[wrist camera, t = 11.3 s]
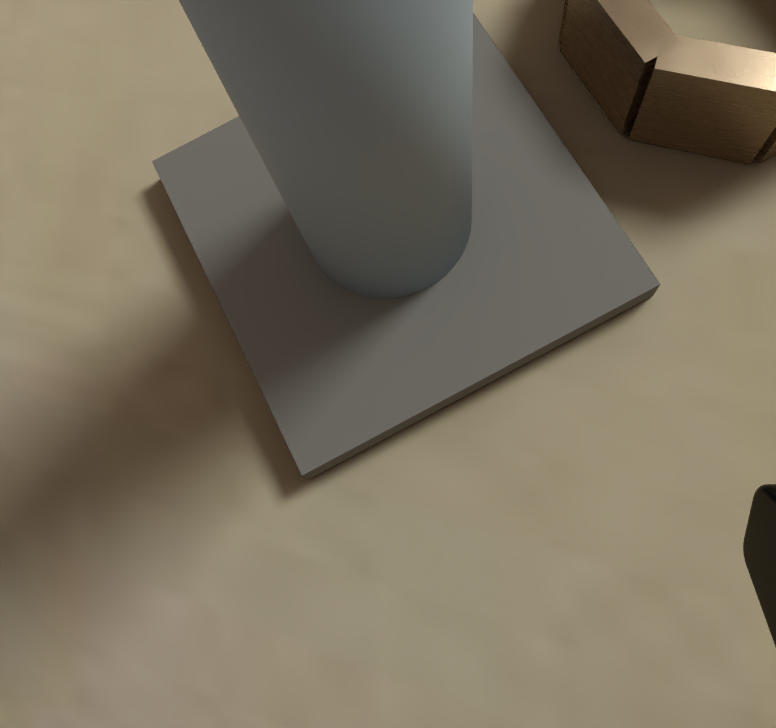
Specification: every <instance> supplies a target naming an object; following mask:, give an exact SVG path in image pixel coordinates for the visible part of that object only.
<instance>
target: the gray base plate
mask: <svg viewBox="0 0 776 728" xmlns="http://www.w3.org/2000/svg"><path fill="white" fill-rule="evenodd" d="M152 162H153V165H154V167H155V169H156V171H157V173H158V175H159V177H160V179H161V181H162V183H163V185H164V188H165V190H166V192H167V194H168V196H169V198H170V200H171V202H172V204H173V206H174V209H175V211H176V213H177V215H178V217H179V219H180V221H181V223H182V225H183V227H184V229H185V232H186V234H187V236H188V238H189V240H190V242H191V244H192V246H193V248H194V250H195V253H196V255H197V257H198V259H199V261H200V263H201V265H202V267H203V269H204V271H205V274H206V276H207V278H208V280H209V282H210V284H211V286H212V288H213V290H214V292H215V294H216V297H217V299H218V301H219V303H220V305H221V307H222V309H223V311H224V313H225V315H226V318H227V320H228V322H229V324H230V326H231V328H232V330H233V332H234V334H235V336H236V338H237V341H238V343H239V345H240V347H241V349H242V351H243V353H244V355H245V357H246V359H247V362H248V364H249V366H250V368H251V370H252V372H253V374H254V376H255V378H256V380H257V383H258V385H259V387H260V389H261V391H262V393H263V395H264V397H265V399H266V401H267V403H268V406H269V408H270V410H271V412H272V414H273V416H274V418H275V420H276V422H277V424H278V427H279V429H280V431H281V433H282V435H283V437H284V439H285V441H286V443H287V445H288V447H289V450H290V452H291V454H292V456H293V458H294V460H295V462H296V464H297V466H298V468H299V471H300V473H301V475H302V476H304V477H306V478H308V479H310V478H312V477H314V476H316V475H318V474H320V473H322V472H324V471H325V470H327V469H329V468H331V467H333V466H335V465H337V464H339V463H340V462H342V461H344V460H346V459H348V458H350V457H352V456H353V455H355V454H357V453H359V452H361V451H363V450H365V449H367V448H368V447H370V446H372V445H374V444H376V443H378V442H380V441H382V440H383V439H385V438H387V437H389V436H391V435H393V434H395V433H397V432H398V431H400V430H402V429H404V428H406V427H408V426H410V425H412V424H413V423H415V422H417V421H419V420H421V419H423V418H425V417H426V416H428V415H430V414H432V413H434V412H436V411H438V410H440V409H441V408H443V407H445V406H447V405H449V404H451V403H453V402H455V401H456V400H458V399H460V398H462V397H464V396H466V395H468V394H470V393H471V392H473V391H475V390H477V389H479V388H481V387H483V386H485V385H486V384H488V383H490V382H492V381H494V380H496V379H498V378H499V377H501V376H503V375H505V374H507V373H509V372H511V371H513V370H514V369H516V368H518V367H520V366H522V365H524V364H526V363H528V362H529V361H531V360H533V359H535V358H537V357H539V356H541V355H543V354H544V353H546V352H548V351H550V350H552V349H554V348H556V347H557V346H559V345H561V344H563V343H565V342H567V341H569V340H571V339H572V338H574V337H576V336H578V335H580V334H582V333H584V332H586V331H587V330H589V329H591V328H593V327H595V326H597V325H599V324H601V323H602V322H604V321H606V320H608V319H610V318H612V317H614V316H616V315H617V314H619V313H621V312H623V311H625V310H627V309H629V308H630V307H632V306H634V305H636V304H638V303H640V302H642V301H644V300H645V299H647V298H649V297H651V296H653V295H654V293H655V292H656V290H657V289H658V287H659V286H660V283H659V281H658V280H657V278H656V277H655V275H654V274H653V273H652V271H651V270H650V268H649V267H648V265H647V264H646V262H645V261H644V260H643V258H642V257H641V255H640V254H639V252H638V251H637V249H636V248H635V246H634V245H633V244H632V242H631V241H630V239H629V238H628V236H627V235H626V233H625V232H624V231H623V229H622V228H621V226H620V225H619V223H618V222H617V220H616V219H615V218H614V216H613V215H612V213H611V212H610V210H609V209H608V207H607V206H606V204H605V203H604V202H603V200H602V199H601V197H600V196H599V194H598V193H597V191H596V190H595V189H594V187H593V186H592V184H591V183H590V181H589V180H588V178H587V177H586V175H585V174H584V173H583V171H582V170H581V168H580V167H579V165H578V164H577V162H576V161H575V160H574V158H573V157H572V155H571V154H570V152H569V151H568V149H567V148H566V146H565V145H564V144H563V142H562V141H561V139H560V138H559V136H558V135H557V133H556V132H555V131H554V129H553V128H552V126H551V125H550V123H549V122H548V120H547V119H546V117H545V116H544V115H543V113H542V112H541V110H540V109H539V107H538V106H537V104H536V103H535V102H534V100H533V99H532V97H531V96H530V94H529V93H528V91H527V90H526V89H525V87H524V86H523V84H522V83H521V81H520V80H519V78H518V77H517V75H516V74H515V73H514V71H513V70H512V68H511V67H510V65H509V64H508V62H507V61H506V60H505V58H504V57H503V55H502V54H501V52H500V51H499V49H498V48H497V46H496V45H495V44H494V42H493V41H492V39H491V38H490V36H489V35H488V33H487V32H486V31H485V29H484V28H483V26H482V25H481V23H480V22H479V20H478V19H477V17H476V16H475V15H474V13H473V82H472V223H471V232H470V236H469V240H468V243H467V245H466V248H465V250H464V252H463V254H462V256H461V257H460V259H459V261H458V262H457V263H456V265H455V266H454V267H453V268H452V269H451V270H450V272H449V273H448V274H447V275H446V276H444V277H443V278H442V279H441V280H439V281H438V282H437V283H435V284H434V285H432V286H430V287H429V288H427V289H425V290H423V291H420V292H418V293H416V294H412V295H409V296H406V297H400V298H393V299H377V298H369V297H364V296H361V295H358V294H355V293H352V292H350V291H348V290H346V289H344V288H342V287H340V286H339V285H337V284H336V283H334V282H333V281H332V280H331V279H330V278H329V277H328V276H326V274H325V273H324V272H323V271H322V270H321V269H320V267H319V266H318V264H317V263H316V261H315V259H314V258H313V256H312V254H311V252H310V250H309V248H308V246H307V244H306V242H305V240H304V238H303V236H302V235H301V233H300V231H299V229H298V227H297V225H296V223H295V221H294V219H293V217H292V215H291V214H290V212H289V210H288V208H287V206H286V204H285V202H284V200H283V198H282V196H281V194H280V193H279V191H278V189H277V187H276V185H275V183H274V181H273V179H272V177H271V175H270V173H269V171H268V170H267V168H266V166H265V164H264V162H263V160H262V158H261V156H260V154H259V152H258V150H257V149H256V147H255V145H254V143H253V141H252V139H251V137H250V135H249V133H248V131H247V129H246V128H245V126H244V124H243V122H242V120H241V118H240V116H238V117H237V118H235V119H233V120H231V121H229V122H227V123H225V124H223V125H221V126H219V127H217V128H215V129H213V130H212V131H210V132H208V133H206V134H204V135H202V136H200V137H198V138H196V139H194V140H192V141H190V142H188V143H187V144H185V145H183V146H181V147H179V148H177V149H175V150H173V151H171V152H169V153H167V154H165V155H163V156H162V157H160V158H158V159H156V160H154V161H152Z"/></svg>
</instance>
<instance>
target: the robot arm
mask: <svg viewBox="0 0 776 728" xmlns="http://www.w3.org/2000/svg"><path fill="white" fill-rule="evenodd" d="M743 551H744V558H745V562H746V566H747V568H748V571H749V574H750V577H751V580H752V582H753V585H754V588H755V591H756V593H757V596H758V599H759V602H760V605H761V607H762V610H763V613H764V616H765V619H766V621H767V624H768V627H769V630H770V633H771V635H772V638H773V641H774V644H775V647H776V484H766V485H762V486H760V487H759V488H758V489H757V490H756V492H755V494H754V497H753V501H752V506H751V510H750V515H749V519H748V524H747V528H746V533H745V537H744V543H743Z"/></svg>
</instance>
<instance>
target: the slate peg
mask: <svg viewBox="0 0 776 728" xmlns="http://www.w3.org/2000/svg"><path fill="white" fill-rule="evenodd" d="M179 1H180V3H181V5H182V7H183V9H184V11H185V13H186V15H187V17H188V19H189V20H190V22H191V24H192V26H193V28H194V30H195V32H196V34H197V36H198V38H199V40H200V41H201V43H202V45H203V47H204V49H205V51H206V53H207V55H208V57H209V59H210V61H211V63H212V64H213V66H214V68H215V70H216V72H217V74H218V76H219V78H220V80H221V82H222V84H223V85H224V87H225V89H226V91H227V93H228V95H229V97H230V99H231V101H232V103H233V105H234V106H235V108H236V110H237V112H238V114H239V116H240V118H241V120H242V122H243V124H244V126H245V128H246V129H247V131H248V133H249V135H250V137H251V139H252V141H253V143H254V145H255V147H256V149H257V150H258V152H259V154H260V156H261V158H262V160H263V162H264V164H265V166H266V168H267V170H268V171H269V173H270V175H271V177H272V179H273V181H274V183H275V185H276V187H277V189H278V191H279V193H280V194H281V196H282V198H283V200H284V202H285V204H286V206H287V208H288V210H289V212H290V214H291V215H292V217H293V219H294V221H295V223H296V225H297V227H298V229H299V231H300V233H301V235H302V236H303V238H304V240H305V242H306V244H307V246H308V248H309V250H310V252H311V254H312V256H313V258H314V259H315V261H316V263H317V264H318V266H319V267H320V269H321V270H322V271H323V272H324V273H325V274H326V276H328V277H329V278H330V279H331V280H332V281H333V282H334V283H336V284H337V285H339V286H340V287H342V288H344V289H346V290H348V291H350V292H352V293H355V294H358V295H361V296H364V297H369V298H377V299H393V298H400V297H406V296H409V295H412V294H416V293H418V292H420V291H423V290H425V289H427V288H429V287H430V286H432V285H434V284H435V283H437V282H438V281H439V280H441V279H442V278H443V277H444V276H446V275H447V274H448V273H449V272H450V270H451V269H452V268H453V267H454V266H455V265H456V263H457V262H458V261H459V259H460V257H461V256H462V254H463V252H464V250H465V248H466V245H467V243H468V240H469V236H470V232H471V223H472V82H473V0H179Z"/></svg>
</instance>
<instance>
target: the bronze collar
mask: <svg viewBox="0 0 776 728" xmlns="http://www.w3.org/2000/svg"><path fill="white" fill-rule="evenodd" d="M559 42H560V43H561V47H560V51H561V52H562V53H563V55H564V56H565V57H566V59H567V60H568V62H569V63H570V64H571V66H572V67H573V69H574V70H575V71H576V73H577V74H578V75H579V77H580V78H581V80H582V81H583V82H584V84H585V85H586V87H587V88H588V89H589V91H590V92H591V93H592V95H593V96H594V98H595V99H596V100H597V102H598V103H599V105H600V106H601V107H602V109H603V110H604V111H605V113H606V114H607V116H608V117H609V118H610V120H611V121H612V123H613V124H614V125H615V127H616V128H617V129H618V131H619V132H620V134H622V133H624V132H626V131H628V130H630V129H631V128H632V129H631V132H630V136H629V139H630V140H635V141H640V142H645V143H650V144H655V145H659V146H664V147H669V148H674V149H679V150H683V151H688V152H693V153H698V154H703V155H708V156H712V157H717V158H722V159H727V160H732V161H737V162H741V163H746V164H750V163H751V162H752V160H753V159H754V157H756V158H757V160H758V161H759V162H762V161H764V160H766V159H768V158H770V157H772V156H774V155H775V154H776V53H772V52H767V51H761V50H756V49H750V48H744V47H739V46H733V45H728V44H722V43H717V42H711V41H706V40H700V39H694V38H689V37H683V36H678V35H675V33H674V32H673V31H672V30H671V28H670V27H669V26H668V25H667V23H666V22H665V21H664V20H663V18H662V17H661V16H660V15H659V13H658V12H657V11H656V9H655V8H654V7H653V6H652V4H651V3H650V2H649V1H648V0H565V6H564V12H563V18H562V24H561V30H560V36H559Z"/></svg>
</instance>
